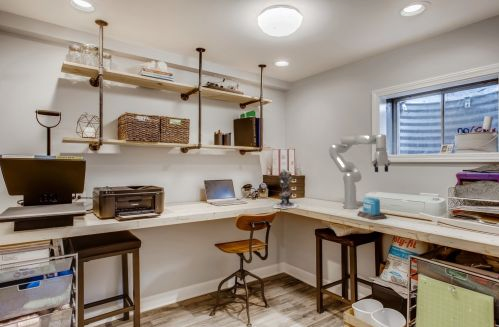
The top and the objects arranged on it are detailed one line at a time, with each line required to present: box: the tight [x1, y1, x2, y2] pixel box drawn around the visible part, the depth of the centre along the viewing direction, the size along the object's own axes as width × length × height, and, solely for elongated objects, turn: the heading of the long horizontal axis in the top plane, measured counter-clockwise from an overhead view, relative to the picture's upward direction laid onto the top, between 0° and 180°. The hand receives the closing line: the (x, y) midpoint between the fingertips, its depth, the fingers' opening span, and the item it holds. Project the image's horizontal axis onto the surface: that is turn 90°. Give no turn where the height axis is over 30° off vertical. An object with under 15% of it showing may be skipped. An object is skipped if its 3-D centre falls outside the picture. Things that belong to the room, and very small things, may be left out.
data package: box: [362, 197, 381, 216], centre depth 212 cm, size 12×4×12 cm, turn 21°
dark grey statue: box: [271, 169, 299, 210], centre depth 266 cm, size 22×25×35 cm
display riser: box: [356, 210, 387, 221], centre depth 212 cm, size 16×12×4 cm
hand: (381, 171), depth 229 cm, fingers open, 9 cm apart
